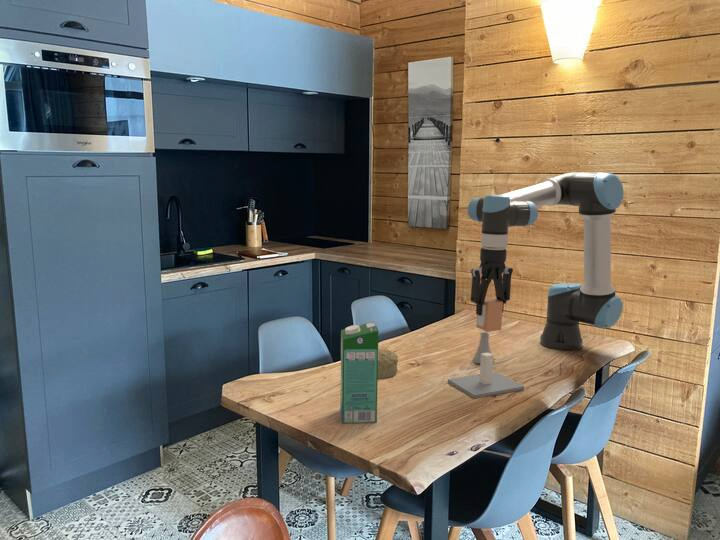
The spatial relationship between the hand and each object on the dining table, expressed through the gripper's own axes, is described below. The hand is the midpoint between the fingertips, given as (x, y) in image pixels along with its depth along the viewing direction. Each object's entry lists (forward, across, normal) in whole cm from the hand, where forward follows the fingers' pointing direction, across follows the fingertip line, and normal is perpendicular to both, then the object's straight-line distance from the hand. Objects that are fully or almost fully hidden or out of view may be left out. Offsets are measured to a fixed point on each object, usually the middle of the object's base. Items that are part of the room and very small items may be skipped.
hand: (488, 324), depth 182 cm
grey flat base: (+19, 0, 0) cm, 19 cm away
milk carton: (+20, +45, +5) cm, 49 cm away
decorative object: (+20, +24, -22) cm, 38 cm away
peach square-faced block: (+1, 0, 0) cm, 1 cm away
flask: (+19, -13, -19) cm, 30 cm away
